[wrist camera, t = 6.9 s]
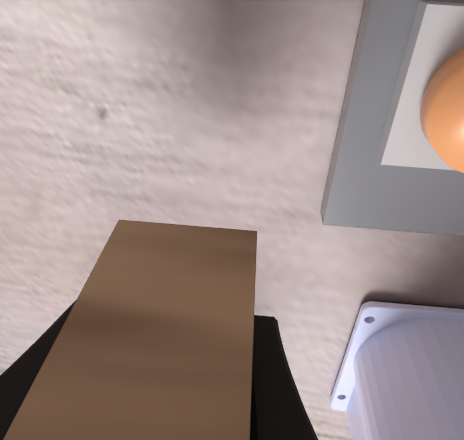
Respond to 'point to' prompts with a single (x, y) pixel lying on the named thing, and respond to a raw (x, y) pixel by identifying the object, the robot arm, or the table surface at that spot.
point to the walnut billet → (153, 342)
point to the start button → (446, 112)
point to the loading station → (395, 124)
